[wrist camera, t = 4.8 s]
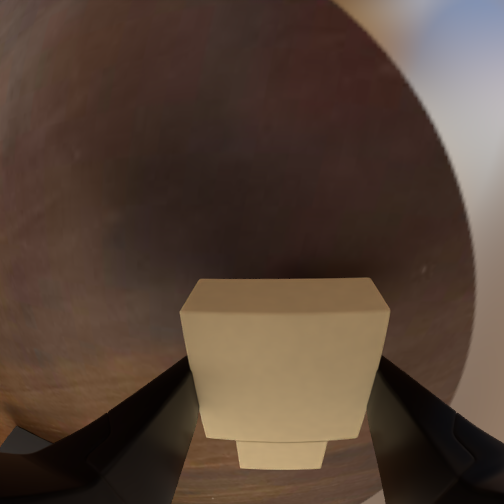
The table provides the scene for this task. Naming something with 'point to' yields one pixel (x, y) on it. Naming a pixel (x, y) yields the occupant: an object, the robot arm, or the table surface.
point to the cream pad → (284, 363)
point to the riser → (22, 442)
